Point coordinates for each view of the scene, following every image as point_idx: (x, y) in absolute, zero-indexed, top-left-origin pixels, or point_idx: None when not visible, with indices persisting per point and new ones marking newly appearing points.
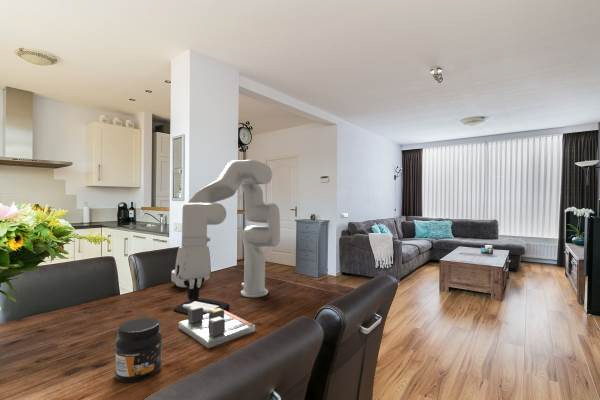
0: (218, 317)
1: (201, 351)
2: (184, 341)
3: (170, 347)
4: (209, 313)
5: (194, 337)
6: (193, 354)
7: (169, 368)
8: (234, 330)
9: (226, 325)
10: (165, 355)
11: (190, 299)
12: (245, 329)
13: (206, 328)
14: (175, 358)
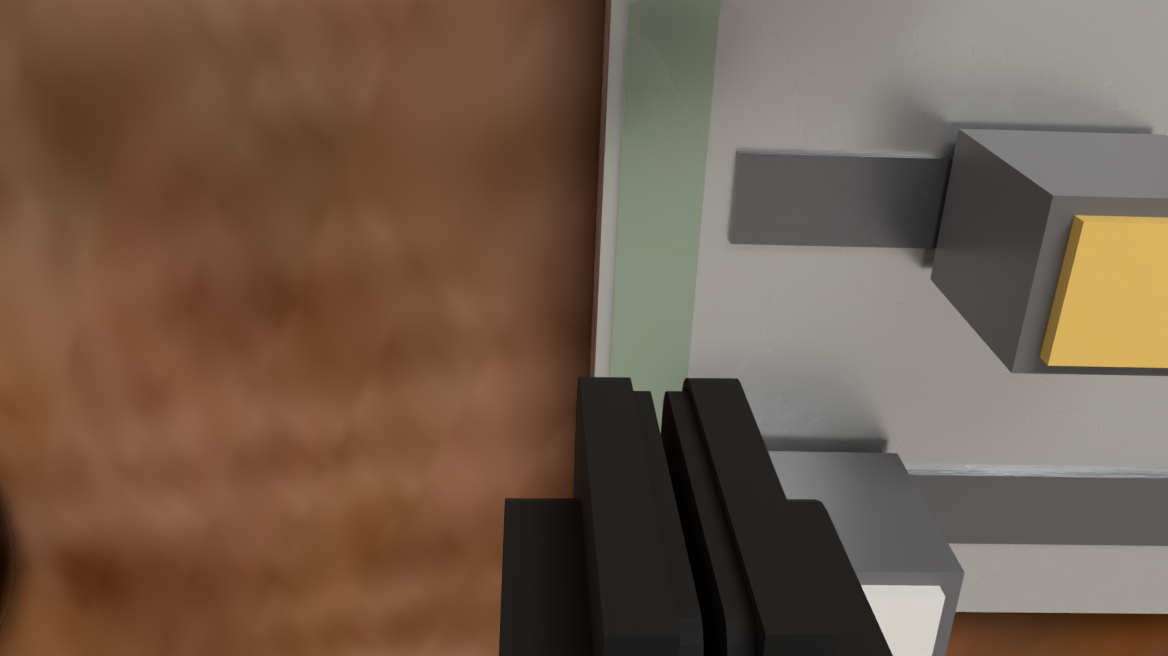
0: (904, 622)
1: (492, 560)
2: (457, 199)
3: (239, 231)
4: (1027, 205)
5: (597, 235)
6: (394, 560)
7: (94, 635)
8: (1009, 573)
9: (1072, 375)
10: (126, 381)
11: (577, 494)
12: (1133, 605)
13: (808, 262)
14: (203, 512)
